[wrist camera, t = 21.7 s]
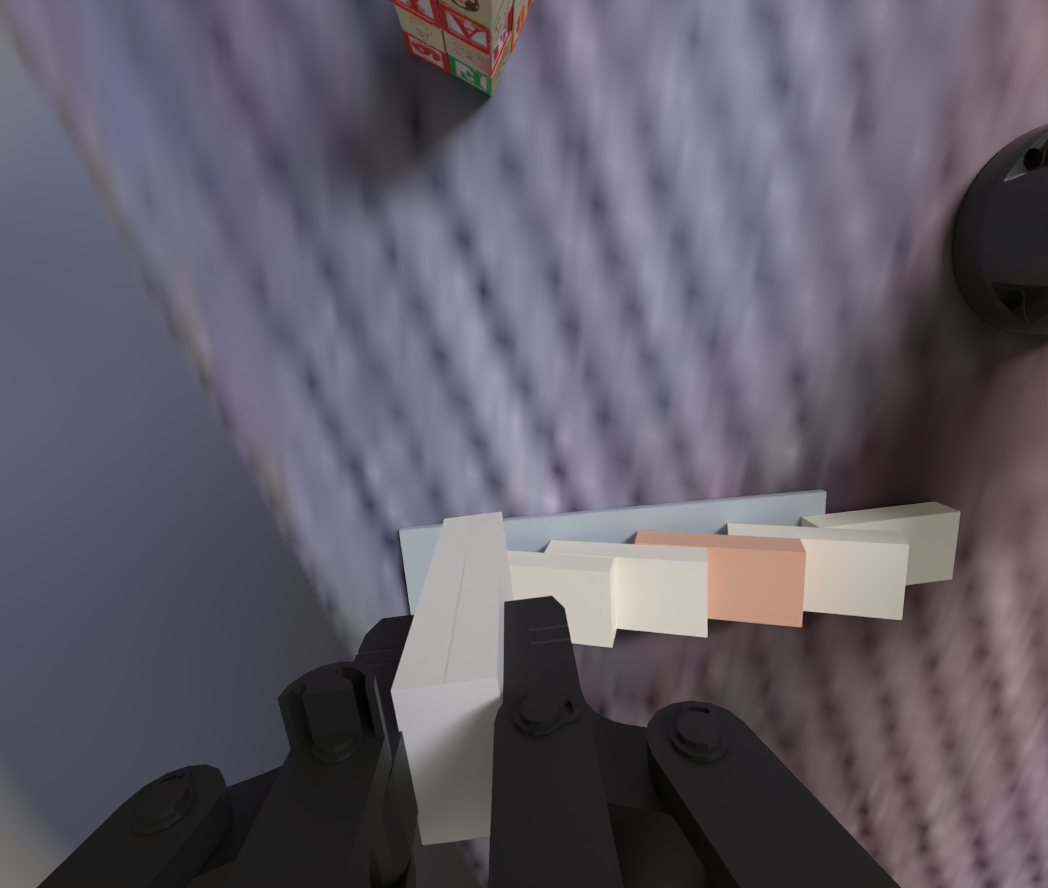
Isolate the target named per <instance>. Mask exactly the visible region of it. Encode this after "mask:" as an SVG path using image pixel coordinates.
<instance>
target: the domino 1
mask: <svg viewBox="0 0 1048 888" xmlns="http://www.w3.org/2000/svg"><path fill="white" fill-rule="evenodd" d="M544 553H553V554H568V555H583V556H598V557H613V558H614V564H615V595H616V625H617V629H626V630H636V631H647V632H657V633H667V634H677V635H687V636H697V637H707V613H708V560H707V548H697V547H677V546H657V545H638V544H618V543H599V542H579V541H560V540H551V542H550V543H549V545H548V547H547V548H546V550H545V552H544Z"/></svg>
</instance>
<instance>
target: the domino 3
mask: <svg viewBox="0 0 1048 888" xmlns="http://www.w3.org/2000/svg"><path fill="white" fill-rule="evenodd" d="M727 535H737V536H757V537H777V538H798V539H800V540H801V542H802V544H803V547H804V549H805V551H806V565H805V583H804V600H803V611H810V612H821V613H831V614H842V615H852V616H863V617H873V618H884V619H894V620H902V615H903V604H904V594H905V584H906V573H907V563H908V553H909V544H908V543H907V541H906V540H905V539H904V538H903V536H902V535H901V534H900V533H899V532H898V531H880V530H859V529H839V528H818V527H798V526H777V525H757V524H736V523H727Z"/></svg>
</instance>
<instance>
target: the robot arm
mask: <svg viewBox="0 0 1048 888" xmlns="http://www.w3.org/2000/svg"><path fill="white" fill-rule="evenodd" d="M953 258H954V267H955V273H956V277H957V281H958V284H959V286H960V289H961V291H962V293H963V295H964V297H965V299H966V300H967V302H968V303H969V305H970V306H971V307H972V309H973V310H974V311H975V312H976V313H977V314H978V315H979V316H980V317H981V318H983V319H984V320H985V321H987V322H988V323H990V324H992V325H993V326H995V327H997V328H1000V329H1002V330H1006V331H1009V332H1013V333H1020V334H1047V335H1048V124H1047V125H1044V126H1041V127H1039V128H1036V129H1034V130H1032V131H1029V132H1027V133H1026V134H1024V135H1022V136H1020V137H1019V138H1017V139H1015V140H1014V141H1013V142H1011V143H1010V144H1008V145H1007V146H1006V147H1005V148H1003V149H1002V150H1001V151H1000V152H999V153H998V154H997V155H996V156H995V157H994V158H993V159H992V160H991V161H990V162H989V163H988V164H987V165H986V167H985V168H984V169H983V170H982V172H981V173H980V174H979V176H978V177H977V179H976V180H975V182H974V183H973V185H972V187H971V188H970V190H969V192H968V194H967V196H966V198H965V200H964V203H963V205H962V208H961V211H960V214H959V217H958V220H957V224H956V229H955V235H954V245H953ZM278 702H279V706H280V710H281V714H282V717H283V721H284V725H285V729H286V732H287V736H288V740H289V744H290V748H291V750H290V752H289V754H288V756H287V758H286V760H285V762H284V764H283V765H282V766H280V767H278V768H276V769H274V770H271V771H269V772H267V773H264V774H262V775H259V776H256V777H253V778H251V779H248V780H245V781H242V782H240V783H237V784H235V785H232V786H229V787H226V783H225V780H224V778H223V776H222V774H221V772H220V771H219V769H218V768H215V767H212V766H209V765H196V766H187V767H184V768H181V769H178V770H175V771H173V772H170V773H167V774H165V775H164V776H161V777H160V778H158V779H156V780H154V781H153V782H151V783H149V784H147V785H146V786H144V787H143V788H142V789H140V790H139V791H138V792H137V793H135V794H134V795H133V796H132V797H131V798H129V799H128V800H127V801H126V802H124V803H123V804H122V805H121V806H120V807H119V808H118V809H117V810H116V811H115V812H114V813H113V814H112V815H111V816H110V817H109V818H108V819H107V820H106V821H105V822H104V823H103V824H102V825H101V826H100V827H99V828H97V830H95V831H94V832H93V833H92V834H91V836H89V837H88V838H87V839H86V840H85V841H84V842H83V843H82V844H81V845H80V846H79V847H78V848H77V849H76V850H75V851H74V852H73V853H72V854H71V855H70V856H69V857H68V858H67V859H66V860H65V861H64V862H63V863H62V864H61V865H59V867H57V868H56V869H55V870H54V871H53V872H52V873H51V874H50V875H49V876H48V877H47V878H46V879H45V880H44V881H43V882H42V883H41V884H40V885H39V886H38V887H37V888H416V866H415V861H414V857H413V852H412V844H413V838H414V833H415V827H416V822H417V820H418V826H419V831H420V836H421V840H422V845H428V844H436V843H444V842H452V841H460V840H468V839H476V838H484V837H490V854H489V882H488V888H901V887H900V886H899V885H898V884H897V883H896V882H895V881H894V880H893V879H892V878H891V877H890V876H889V875H888V874H887V873H886V872H885V870H884V869H883V868H882V867H881V866H880V865H879V864H878V863H877V862H876V861H875V860H874V859H873V858H872V857H871V856H870V855H869V854H868V853H867V852H866V850H865V849H864V848H863V847H862V846H861V845H860V844H859V843H858V842H857V841H856V840H855V839H854V838H853V837H852V836H851V835H850V834H849V833H848V831H847V830H846V829H845V828H844V827H843V826H842V825H841V824H840V823H839V822H838V821H837V820H836V819H835V818H834V817H833V816H832V815H831V814H830V812H829V811H828V810H827V809H826V808H825V807H824V806H823V805H822V804H821V803H820V802H819V801H818V800H817V799H816V798H815V797H814V796H813V795H812V794H811V792H810V791H809V790H808V789H807V788H806V787H805V786H804V785H803V784H802V783H801V782H800V781H799V780H798V779H797V778H796V777H795V776H794V775H793V773H792V772H791V771H790V770H789V769H788V768H787V767H786V766H785V765H784V764H783V763H782V762H781V761H780V760H779V759H778V758H777V757H776V756H775V755H774V753H773V752H772V751H771V750H770V749H769V748H768V747H767V746H766V745H765V744H764V743H763V742H762V741H761V740H760V739H759V738H758V737H757V736H756V734H755V733H754V732H753V731H752V730H751V729H750V728H749V727H748V726H747V725H746V724H745V723H744V722H743V721H741V720H740V719H739V718H738V717H736V716H735V715H734V714H732V713H731V712H730V711H728V710H726V709H723V708H721V707H718V706H715V705H713V704H710V703H704V702H695V701H686V702H680V703H673V704H670V705H668V706H667V707H665V708H663V709H661V710H659V711H657V712H656V714H655V715H654V716H653V717H652V719H651V720H650V721H649V723H648V727H640V726H633V725H626V724H622V723H618V722H614V721H611V720H609V719H607V718H605V717H602V716H601V715H599V714H598V713H597V712H595V711H594V710H593V709H591V707H590V706H589V705H588V704H587V702H586V701H585V700H584V697H583V694H582V692H581V687H580V682H579V677H578V672H577V667H576V662H575V657H574V652H573V647H572V642H571V637H570V632H569V627H568V622H567V617H566V612H565V608H564V607H563V606H562V605H561V604H560V603H559V602H558V601H557V600H556V599H555V598H554V597H553V596H545V597H537V598H529V599H521V600H514V597H513V590H512V583H511V575H510V568H509V561H508V553H507V546H506V539H505V532H504V524H503V517H502V512H495V513H487V514H479V515H471V516H463V517H455V518H447V519H444V522H443V525H442V528H441V532H440V535H439V538H438V541H437V544H436V548H435V551H434V554H433V557H432V560H431V564H430V567H429V570H428V573H427V576H426V580H425V583H424V586H423V589H422V592H421V596H420V599H419V602H418V605H417V608H416V612H415V615H407V616H399V617H391V618H383V619H381V620H380V621H379V622H378V623H377V624H376V625H375V626H374V627H373V628H372V629H371V630H370V631H369V632H368V633H367V634H366V635H365V637H364V639H363V642H362V644H361V646H360V648H359V651H358V655H356V657H355V660H354V662H337V663H333V664H329V665H325V666H321V667H319V668H317V669H315V670H313V671H310V672H308V673H306V674H304V675H303V676H301V677H300V678H298V679H297V680H296V681H294V682H293V683H291V684H290V685H289V686H288V687H287V688H286V689H285V690H284V691H283V692H282V694H281V695H280V696H279V697H278Z"/></svg>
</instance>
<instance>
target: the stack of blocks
mask: <svg viewBox="0 0 1048 888" xmlns="http://www.w3.org/2000/svg"><path fill="white" fill-rule="evenodd" d="M391 1H392V2H393V4H394V7H395V10H396V13H397V15H398V18H399V22H400V24H401V27H402V32H403V35H404V38H405V41H406V44H407V47H408V50H409V52H411V53H412V54H414V55H416V56H418V57H420V58H421V59H423V60H425V61H427V62H429V63H430V64H432V65H434V66H436V67H438V68H440V69H441V70H443V71H445V72H447V73H449V74H452V75H454V76H456V77H458V78H459V79H461V80H463V81H465V82H466V83H468V84H470V85H472V86H474V87H475V88H477V89H479V90H481V91H483V92H484V93H486V94H488V95H489V96H492V95H493V92H494V90H495V88H496V85H497V83H498V80H499V78H500V76H501V73H502V71H503V69H504V66H505V64H506V62H507V59H508V57H509V55H510V53H511V52H512V50H513V48H514V46H515V43H516V41H517V39H518V36H519V34H520V32H521V29H522V27H523V24H524V22H525V20H526V17H527V15H528V13H529V10H530V7H531V5H532V3H533V1H534V0H391Z"/></svg>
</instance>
